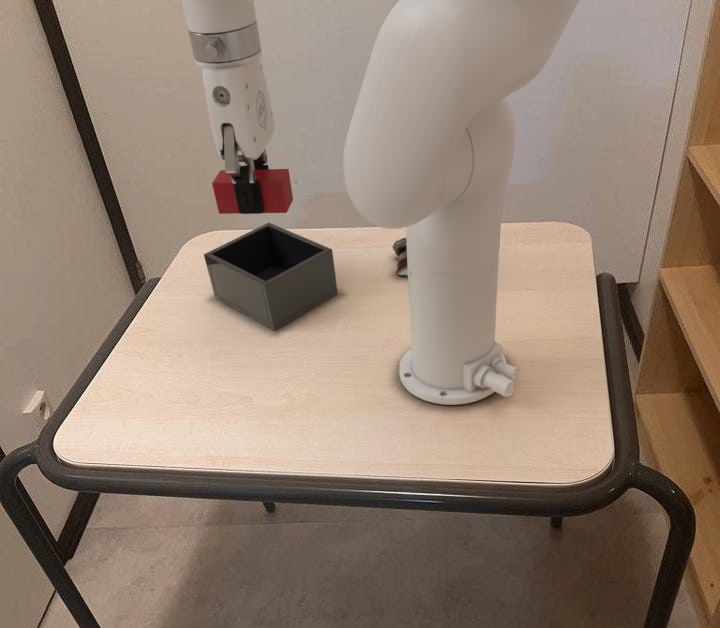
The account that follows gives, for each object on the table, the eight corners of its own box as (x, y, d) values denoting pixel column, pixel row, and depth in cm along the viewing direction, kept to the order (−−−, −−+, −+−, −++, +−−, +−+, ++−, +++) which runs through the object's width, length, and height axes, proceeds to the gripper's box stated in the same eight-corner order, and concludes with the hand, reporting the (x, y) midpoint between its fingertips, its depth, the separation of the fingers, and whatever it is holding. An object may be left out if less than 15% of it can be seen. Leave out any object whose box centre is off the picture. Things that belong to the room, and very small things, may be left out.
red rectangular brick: (293, 199, 93) (288, 168, 90) (286, 213, 91) (281, 181, 88) (227, 200, 95) (220, 170, 92) (218, 213, 92) (211, 182, 89)
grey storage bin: (338, 294, 101) (332, 249, 96) (274, 331, 95) (265, 285, 91) (276, 265, 108) (268, 222, 103) (214, 298, 103) (203, 254, 98)
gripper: (238, 66, 73) (269, 235, 86) (276, 20, 85) (298, 176, 98) (168, 69, 74) (209, 236, 87) (215, 24, 86) (245, 177, 99)
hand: (256, 203), depth 92 cm, fingers closed on red rectangular brick, 3 cm apart
